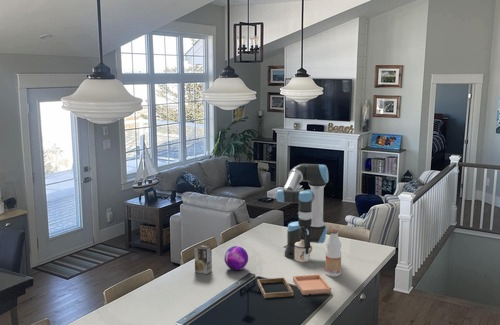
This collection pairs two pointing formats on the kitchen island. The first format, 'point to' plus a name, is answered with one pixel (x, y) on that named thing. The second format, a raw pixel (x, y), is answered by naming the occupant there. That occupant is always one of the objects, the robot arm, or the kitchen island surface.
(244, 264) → the decorative orb
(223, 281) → the kitchen island surface
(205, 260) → the coffee box
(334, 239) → the fruit juice
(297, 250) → the teacup with lid
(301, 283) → the terracotta dish
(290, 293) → the walnut corral
